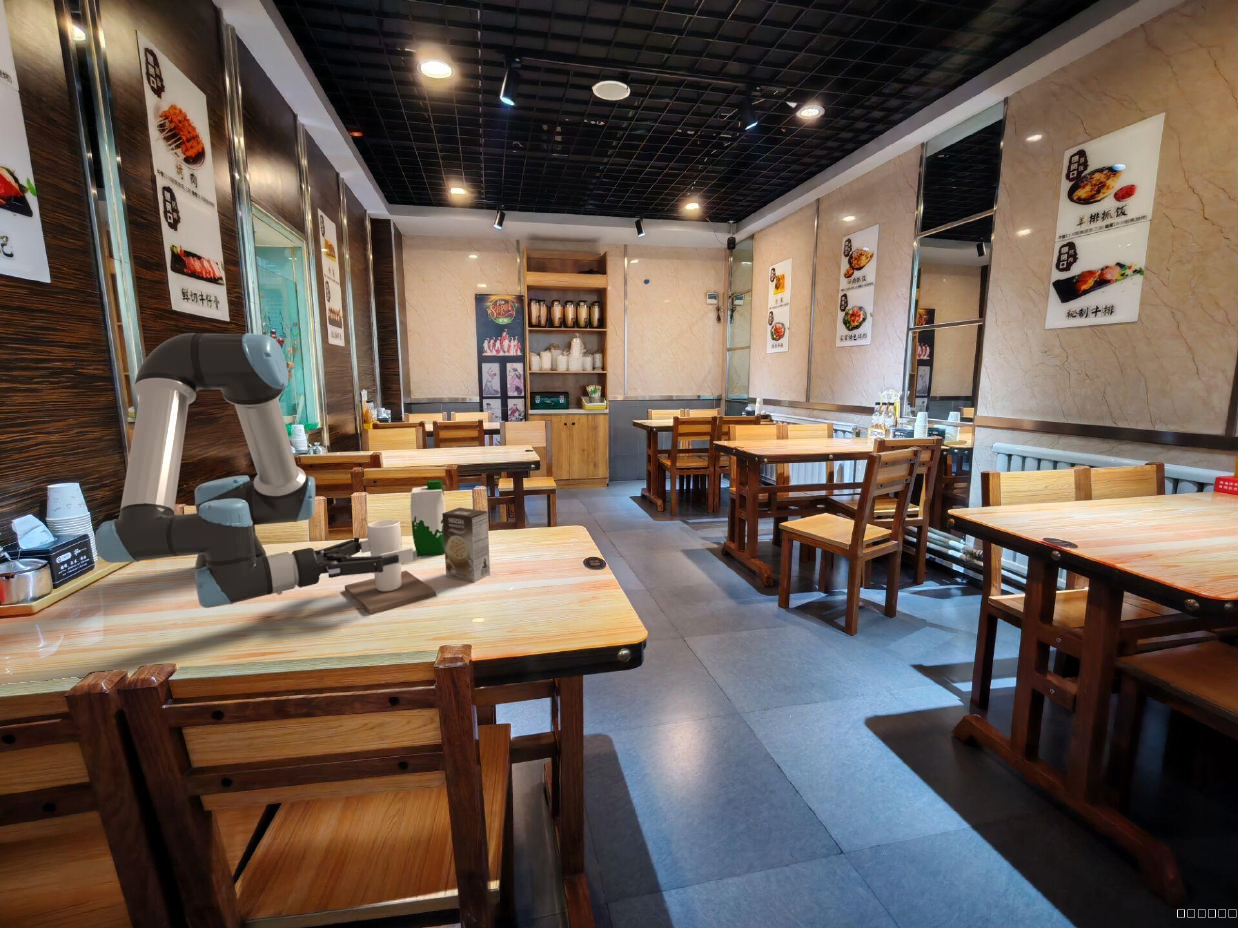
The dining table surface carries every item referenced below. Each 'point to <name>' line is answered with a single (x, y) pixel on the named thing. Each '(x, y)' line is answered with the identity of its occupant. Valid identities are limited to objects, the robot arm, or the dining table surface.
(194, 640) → the dining table surface
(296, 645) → the dining table surface
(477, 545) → the coffee box
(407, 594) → the serving board
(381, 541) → the drinking glass
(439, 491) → the milk carton
